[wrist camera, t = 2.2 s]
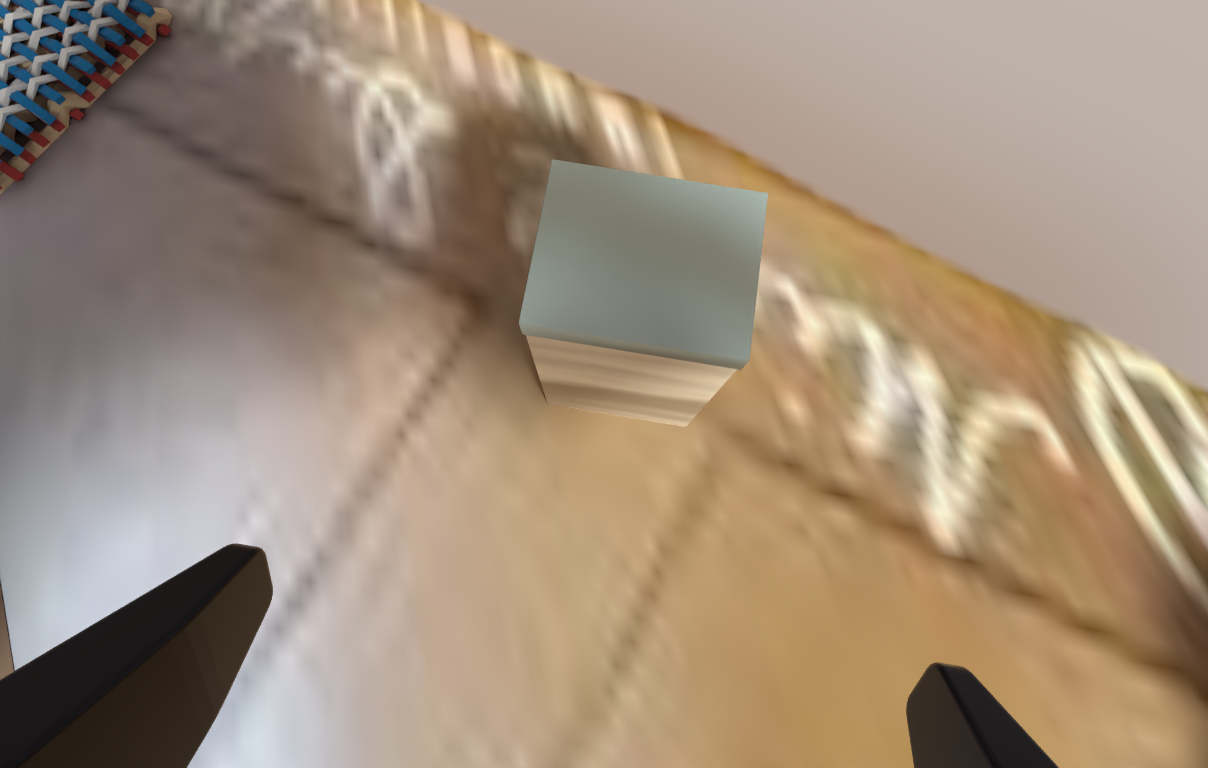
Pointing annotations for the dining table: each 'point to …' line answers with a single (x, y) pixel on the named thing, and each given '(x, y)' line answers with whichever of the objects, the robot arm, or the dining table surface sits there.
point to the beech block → (641, 291)
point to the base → (4, 644)
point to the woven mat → (62, 65)
